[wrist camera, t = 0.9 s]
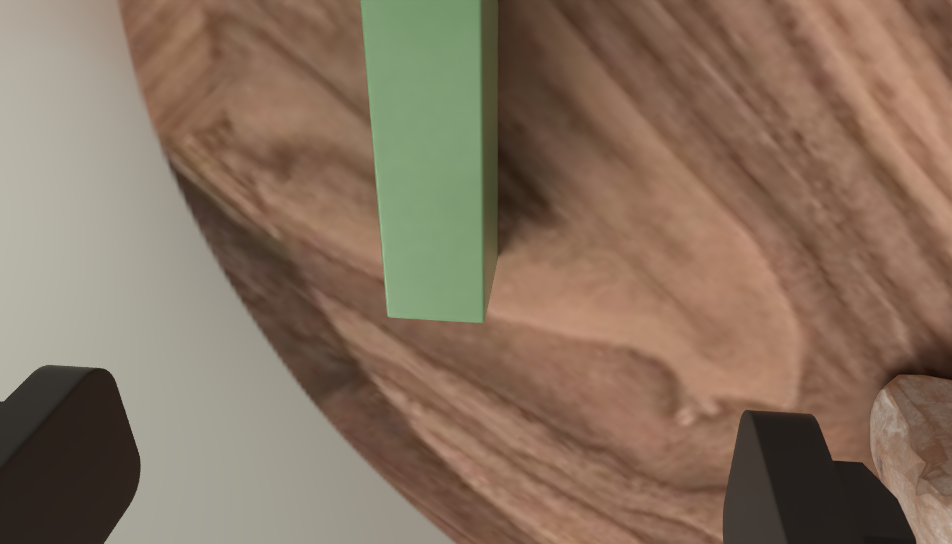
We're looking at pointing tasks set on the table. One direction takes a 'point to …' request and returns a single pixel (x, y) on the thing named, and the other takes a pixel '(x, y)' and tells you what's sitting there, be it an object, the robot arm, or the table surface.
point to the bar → (435, 152)
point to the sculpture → (916, 451)
